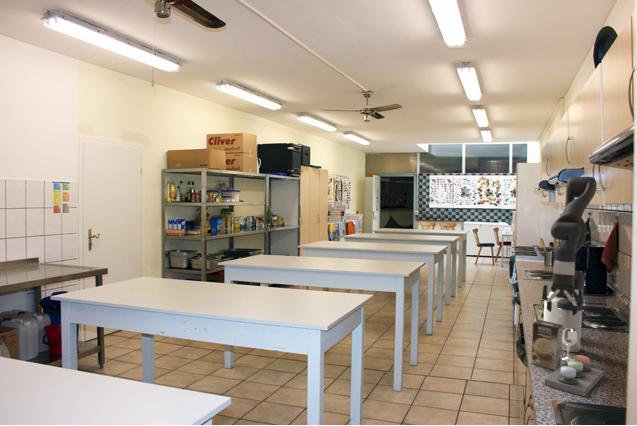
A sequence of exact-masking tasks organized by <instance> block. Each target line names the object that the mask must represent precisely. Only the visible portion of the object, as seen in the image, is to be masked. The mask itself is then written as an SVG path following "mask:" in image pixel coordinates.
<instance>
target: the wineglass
mask: <svg viewBox="0 0 637 426" xmlns="http://www.w3.org/2000/svg"><path fill="white" fill-rule="evenodd" d="M576 342H577V333H576V330H575V329H572V328H563V333H562V343H564V344H565V345H567V351H566V353H567V354H566V355H567V356H561V360H563V361H566V362H568V361H574V359H575V358H572V357H570V356H569V353H570V352H569V349H570V347H569V346H572V345H575V344H576Z"/></svg>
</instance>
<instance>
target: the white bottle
mask: <svg viewBox="0 0 637 426" xmlns="http://www.w3.org/2000/svg"><path fill="white" fill-rule="evenodd" d="M548 294H549V295H547V297H548V298H549V297H550V296H551V295H552V294H553V291H552V290H551V291H550V292H549V293H548ZM561 299H564V298H558V297H555V298H553V299H552V300H551V302H552V309H551V312H549V311H548V310H547V301H546V300H544V305H543V321H547V322H552V323H556V320H557V302H558V300H561Z"/></svg>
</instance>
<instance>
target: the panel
mask: <svg viewBox="0 0 637 426" xmlns="http://www.w3.org/2000/svg"><path fill="white" fill-rule="evenodd" d="M562 366H567V367H568V361H566V362H564V363H563V364H561V366H560V367H559V368H558V369H556V370H553V372H552V373H550V374H549V375H548V376H546V377H545V378H544V385H545V386H548V387H551V388H554V389H557V390H560V391H564V392H567V393H568V392H569V393H572V394H575V395H578V396H582V397H586V396H587V395H588V393H589V392H590V391H592V389H593V388H594V387H595V385H597V383H599V382H600V380H601V379H602V378H603V377H604V370H602V369H598V368H595V367H591V366H589V365H583V371H576V377H574V378H571V377H566V376H563V375H561V374H560V372H561V367H562Z"/></svg>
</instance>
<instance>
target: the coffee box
mask: <svg viewBox="0 0 637 426" xmlns="http://www.w3.org/2000/svg"><path fill="white" fill-rule="evenodd" d="M562 333H563V325H560V324H556V323H552V322H547V321H544V319H543V320H542V319H537V320H536V321H534V322H533V323H532V340H531V356H530V357H531V360H530V364H532V365H536V366H539V367H542V368H545V369H549V370H553V371H555V370H557V369H558V368H559V367H560V366H562V363H561V362H562V359H561V358H562V351H563V350H562Z"/></svg>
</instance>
